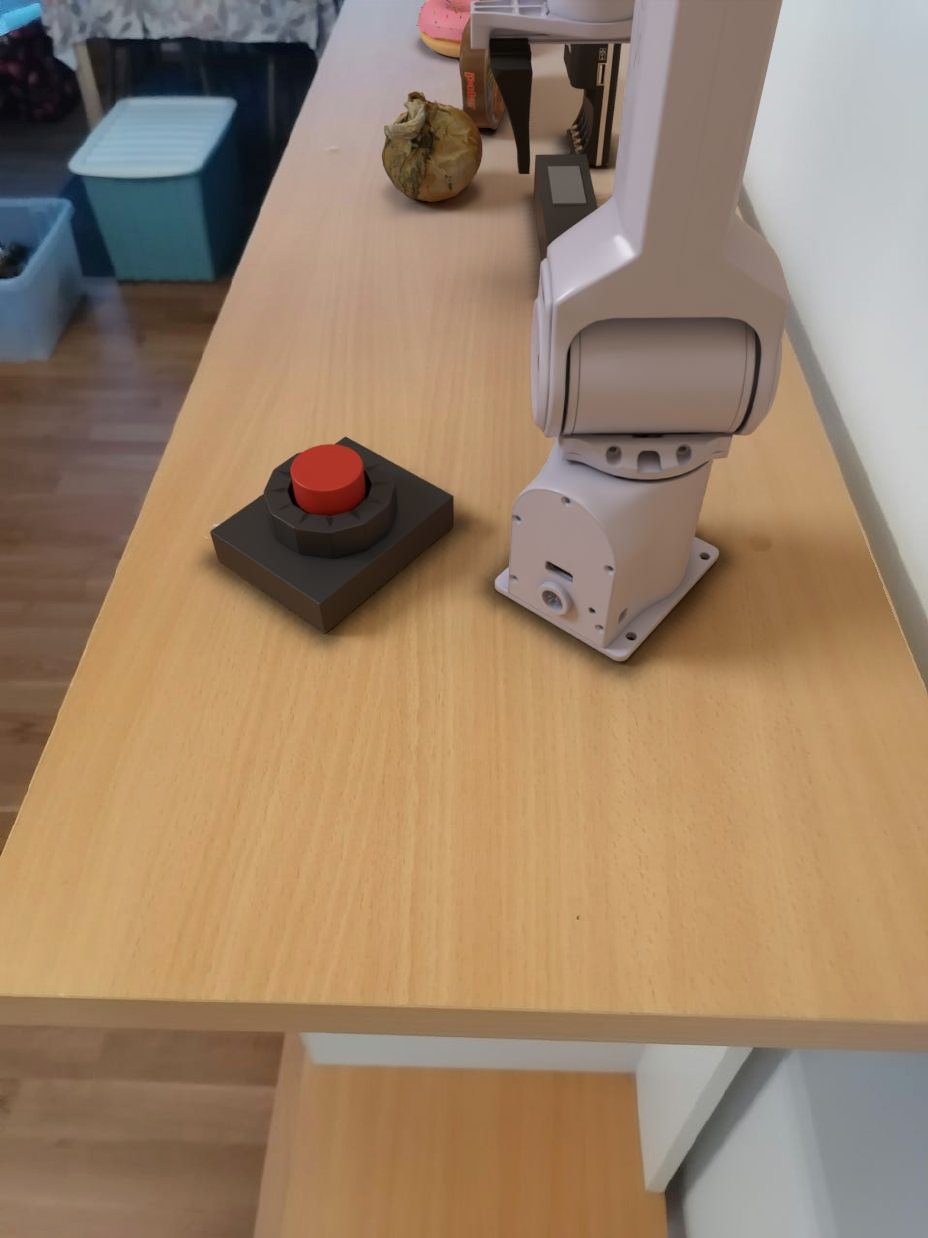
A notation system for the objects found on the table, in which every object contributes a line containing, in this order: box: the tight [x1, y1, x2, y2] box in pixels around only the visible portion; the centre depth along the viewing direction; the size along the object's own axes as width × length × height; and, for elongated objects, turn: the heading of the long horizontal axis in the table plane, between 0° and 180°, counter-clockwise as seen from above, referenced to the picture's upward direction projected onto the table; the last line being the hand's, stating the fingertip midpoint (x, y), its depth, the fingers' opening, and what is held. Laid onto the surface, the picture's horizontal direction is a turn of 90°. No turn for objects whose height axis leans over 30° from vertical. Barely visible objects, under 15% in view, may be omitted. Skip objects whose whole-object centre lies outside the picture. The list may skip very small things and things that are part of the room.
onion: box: [381, 90, 483, 203], centre depth 75 cm, size 8×8×8 cm
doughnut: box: [416, 0, 479, 59], centre depth 98 cm, size 11×11×4 cm
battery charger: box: [563, 43, 623, 167], centre depth 78 cm, size 7×4×11 cm, turn 2°
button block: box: [209, 436, 455, 634], centre depth 50 cm, size 10×8×4 cm
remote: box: [533, 153, 599, 263], centre depth 71 cm, size 15×4×4 cm, turn 0°
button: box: [290, 443, 366, 516], centre depth 48 cm, size 4×4×2 cm
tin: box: [458, 0, 506, 130], centre depth 85 cm, size 15×3×8 cm, turn 168°
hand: (582, 166), depth 62 cm, fingers open, 7 cm apart
